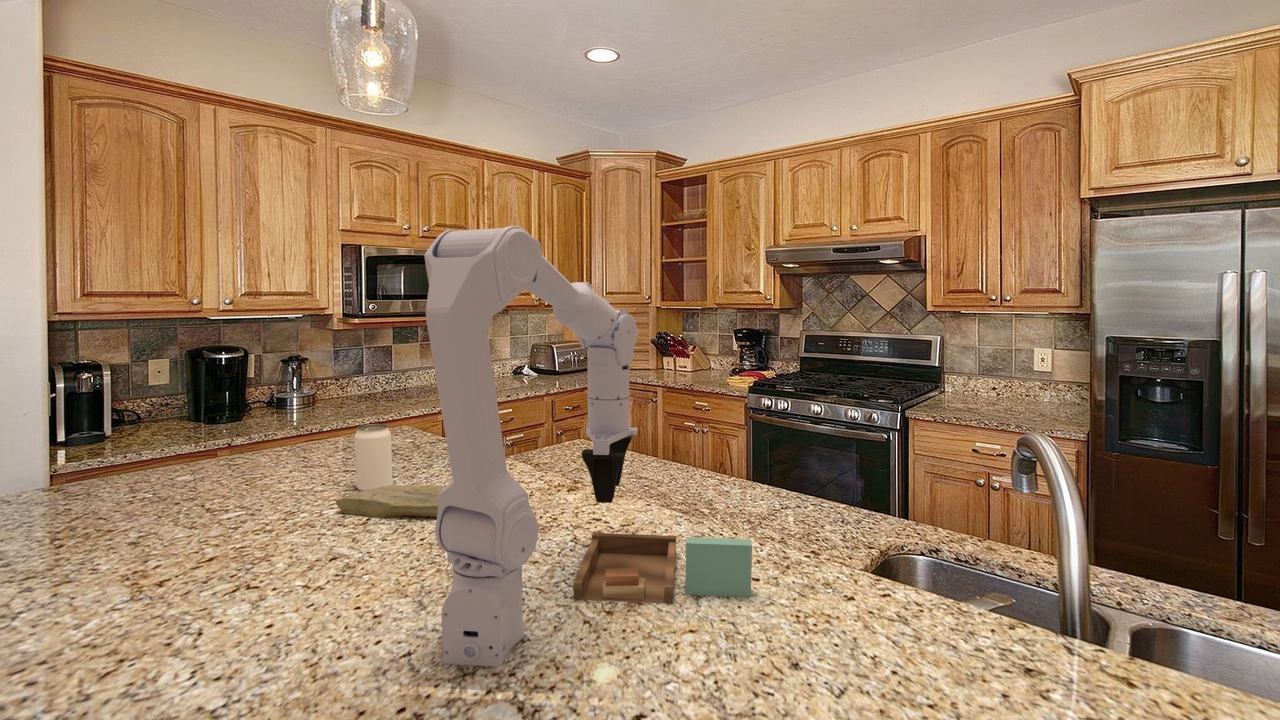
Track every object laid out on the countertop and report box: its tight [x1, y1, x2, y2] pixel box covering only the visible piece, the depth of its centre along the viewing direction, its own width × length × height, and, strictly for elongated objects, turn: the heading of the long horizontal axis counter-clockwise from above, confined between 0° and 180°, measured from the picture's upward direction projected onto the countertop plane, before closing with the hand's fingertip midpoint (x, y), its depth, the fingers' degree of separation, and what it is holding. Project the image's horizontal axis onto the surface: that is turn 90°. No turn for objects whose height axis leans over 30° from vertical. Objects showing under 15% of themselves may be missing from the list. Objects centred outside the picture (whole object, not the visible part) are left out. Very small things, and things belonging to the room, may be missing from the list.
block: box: [684, 536, 753, 598], centre depth 78 cm, size 2×8×7 cm, turn 85°
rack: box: [572, 532, 677, 605], centre depth 83 cm, size 15×12×3 cm
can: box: [354, 423, 393, 491], centre depth 123 cm, size 6×6×12 cm
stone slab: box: [335, 484, 446, 519], centre depth 111 cm, size 12×4×30 cm
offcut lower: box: [603, 577, 645, 600], centre depth 78 cm, size 2×5×2 cm, turn 85°
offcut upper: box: [606, 568, 639, 586], centre depth 77 cm, size 2×4×1 cm, turn 93°
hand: (608, 493), depth 88 cm, fingers open, 7 cm apart
